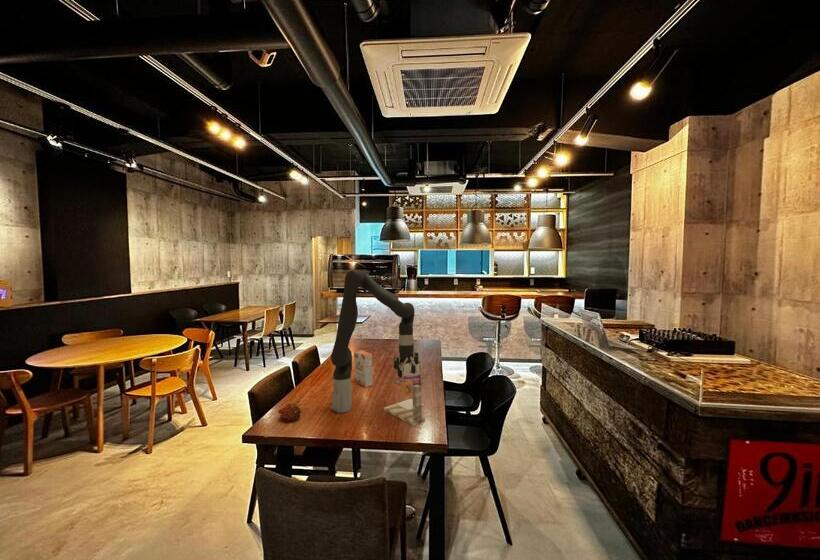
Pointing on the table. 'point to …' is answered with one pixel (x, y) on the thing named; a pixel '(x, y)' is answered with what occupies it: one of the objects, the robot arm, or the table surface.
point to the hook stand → (404, 414)
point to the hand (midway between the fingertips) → (406, 375)
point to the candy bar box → (411, 374)
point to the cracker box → (363, 368)
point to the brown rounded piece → (290, 412)
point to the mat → (407, 404)
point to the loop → (403, 389)
